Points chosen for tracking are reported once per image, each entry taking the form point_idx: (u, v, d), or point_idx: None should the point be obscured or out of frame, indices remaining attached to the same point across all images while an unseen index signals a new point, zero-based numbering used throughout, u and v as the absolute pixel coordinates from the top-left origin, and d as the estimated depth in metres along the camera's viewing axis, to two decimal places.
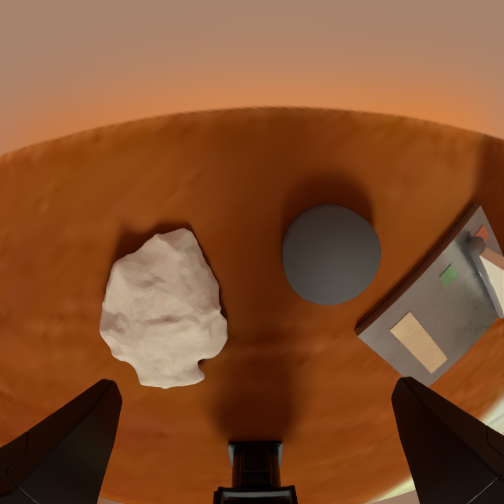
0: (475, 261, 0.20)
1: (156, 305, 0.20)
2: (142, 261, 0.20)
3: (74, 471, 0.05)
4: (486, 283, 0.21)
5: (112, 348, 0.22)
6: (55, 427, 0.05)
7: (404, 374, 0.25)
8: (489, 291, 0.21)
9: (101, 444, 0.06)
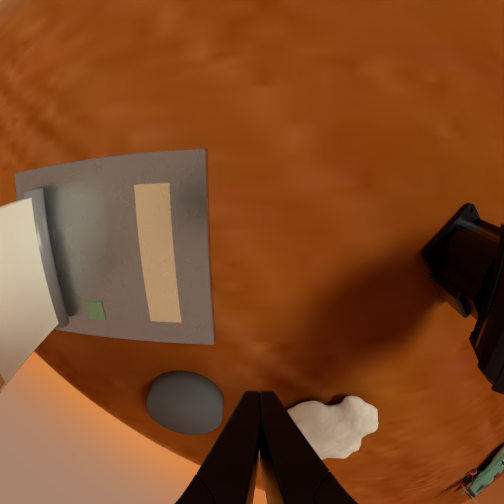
0: (62, 312, 0.19)
1: None
2: None
3: (249, 501, 0.05)
4: (52, 274, 0.18)
5: (352, 451, 0.25)
6: (233, 459, 0.05)
7: (204, 232, 0.19)
8: (48, 256, 0.18)
9: (257, 462, 0.06)
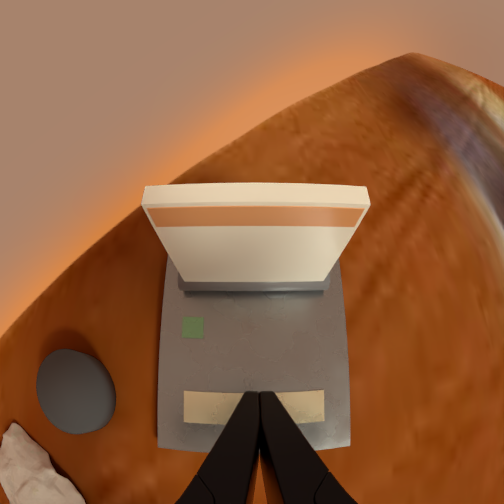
0: (195, 288, 0.21)
1: (14, 477, 0.12)
2: (2, 453, 0.14)
3: (249, 501, 0.05)
4: (240, 289, 0.21)
5: None
6: (233, 459, 0.05)
7: None
8: (260, 289, 0.21)
9: (257, 462, 0.06)
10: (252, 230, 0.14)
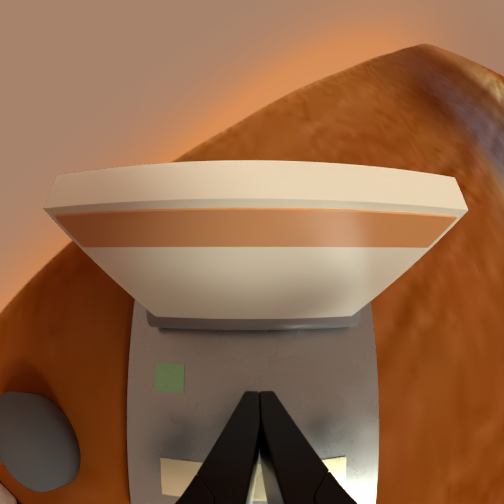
0: (171, 326, 0.15)
1: None
2: None
3: (249, 501, 0.05)
4: (235, 328, 0.15)
5: None
6: (232, 459, 0.05)
7: None
8: (262, 328, 0.15)
9: (257, 463, 0.06)
10: (251, 254, 0.08)
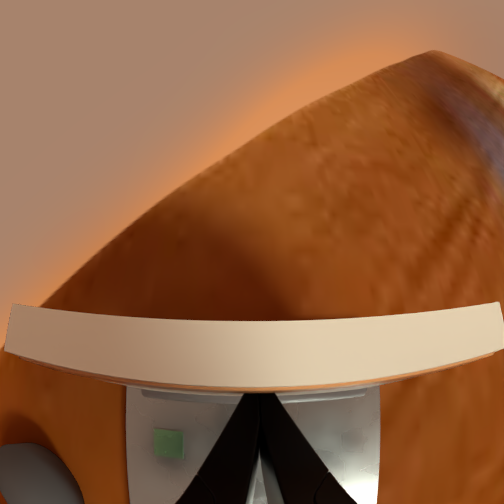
0: (167, 399, 0.13)
1: None
2: None
3: (249, 501, 0.05)
4: (234, 403, 0.13)
5: None
6: (232, 459, 0.05)
7: None
8: None
9: (257, 462, 0.06)
10: None
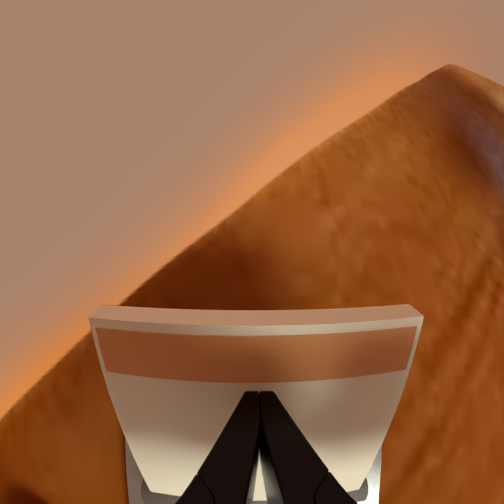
0: None
1: None
2: None
3: (249, 501, 0.05)
4: None
5: None
6: (232, 459, 0.05)
7: None
8: None
9: (257, 463, 0.06)
10: None
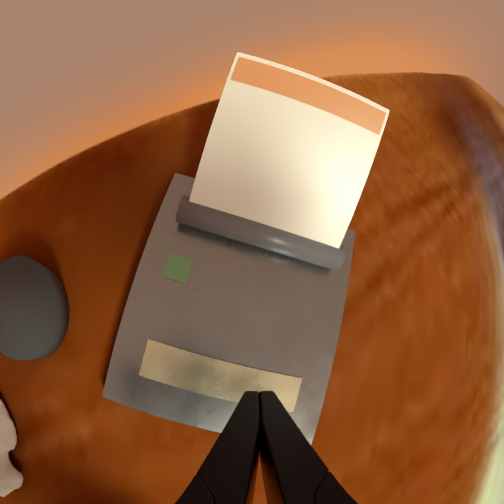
0: (197, 214, 0.18)
1: None
2: None
3: (249, 501, 0.05)
4: (249, 229, 0.18)
5: None
6: (232, 459, 0.05)
7: None
8: (270, 237, 0.18)
9: (257, 463, 0.06)
10: (303, 111, 0.16)
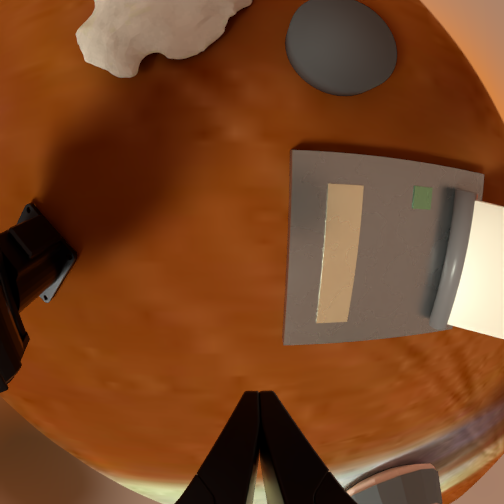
0: (467, 210, 0.16)
1: None
2: None
3: (249, 501, 0.05)
4: (460, 254, 0.17)
5: None
6: (233, 459, 0.05)
7: (290, 282, 0.20)
8: (455, 272, 0.18)
9: (257, 463, 0.06)
10: None
